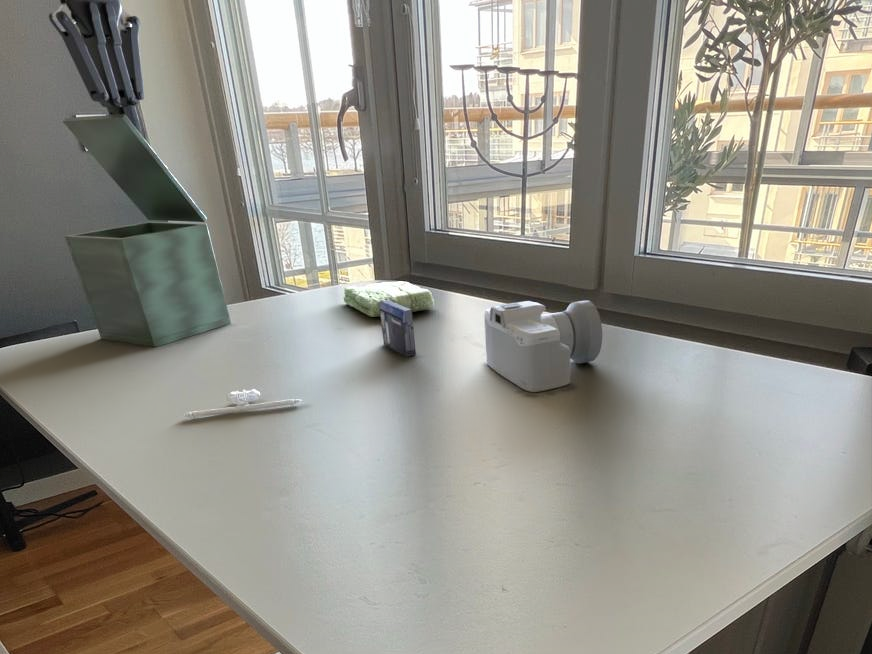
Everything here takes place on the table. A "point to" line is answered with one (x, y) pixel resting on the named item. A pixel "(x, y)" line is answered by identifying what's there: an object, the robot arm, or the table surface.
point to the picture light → (242, 404)
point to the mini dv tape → (397, 327)
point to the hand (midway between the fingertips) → (136, 160)
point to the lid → (135, 167)
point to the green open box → (150, 281)
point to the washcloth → (387, 297)
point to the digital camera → (540, 342)
